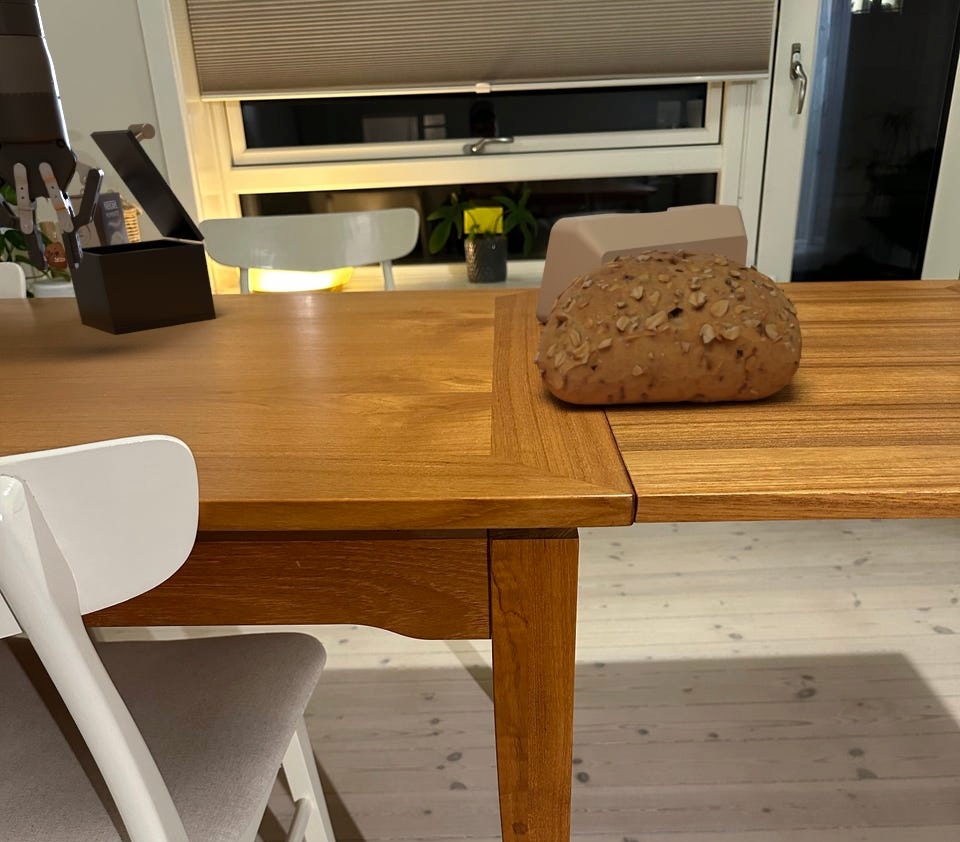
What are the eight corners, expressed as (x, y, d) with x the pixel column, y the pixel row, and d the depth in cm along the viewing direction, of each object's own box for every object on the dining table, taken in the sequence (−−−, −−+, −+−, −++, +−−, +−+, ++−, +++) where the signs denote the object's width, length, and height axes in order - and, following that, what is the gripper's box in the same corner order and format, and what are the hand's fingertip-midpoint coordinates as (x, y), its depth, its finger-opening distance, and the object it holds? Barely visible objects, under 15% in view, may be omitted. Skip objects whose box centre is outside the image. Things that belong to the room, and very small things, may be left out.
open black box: (115, 334, 127) (98, 255, 122) (82, 323, 135) (64, 249, 131) (216, 318, 135) (203, 243, 130) (178, 309, 143) (165, 238, 139)
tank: (607, 344, 109) (610, 225, 103) (533, 323, 121) (532, 216, 115) (771, 316, 119) (783, 207, 113) (688, 300, 131) (694, 201, 125)
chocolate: (44, 269, 107) (35, 230, 105) (64, 267, 108) (56, 229, 106) (50, 272, 105) (41, 232, 103) (71, 270, 106) (62, 231, 104)
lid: (125, 132, 119) (154, 109, 120) (89, 134, 128) (117, 113, 129) (201, 242, 130) (227, 219, 131) (162, 237, 138) (187, 216, 140)
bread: (756, 354, 101) (767, 232, 95) (819, 407, 82) (838, 259, 77) (526, 364, 101) (524, 242, 96) (537, 419, 83) (535, 272, 77)
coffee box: (121, 315, 140) (95, 195, 133) (78, 317, 141) (50, 197, 133) (143, 304, 148) (120, 191, 141) (102, 306, 149) (77, 193, 141)
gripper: (-65, 90, 94) (-17, 277, 102) (83, 87, 96) (119, 270, 104) (-43, 92, 100) (1, 267, 108) (96, 89, 102) (128, 261, 110)
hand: (58, 268), depth 106 cm, fingers closed on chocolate, 2 cm apart
